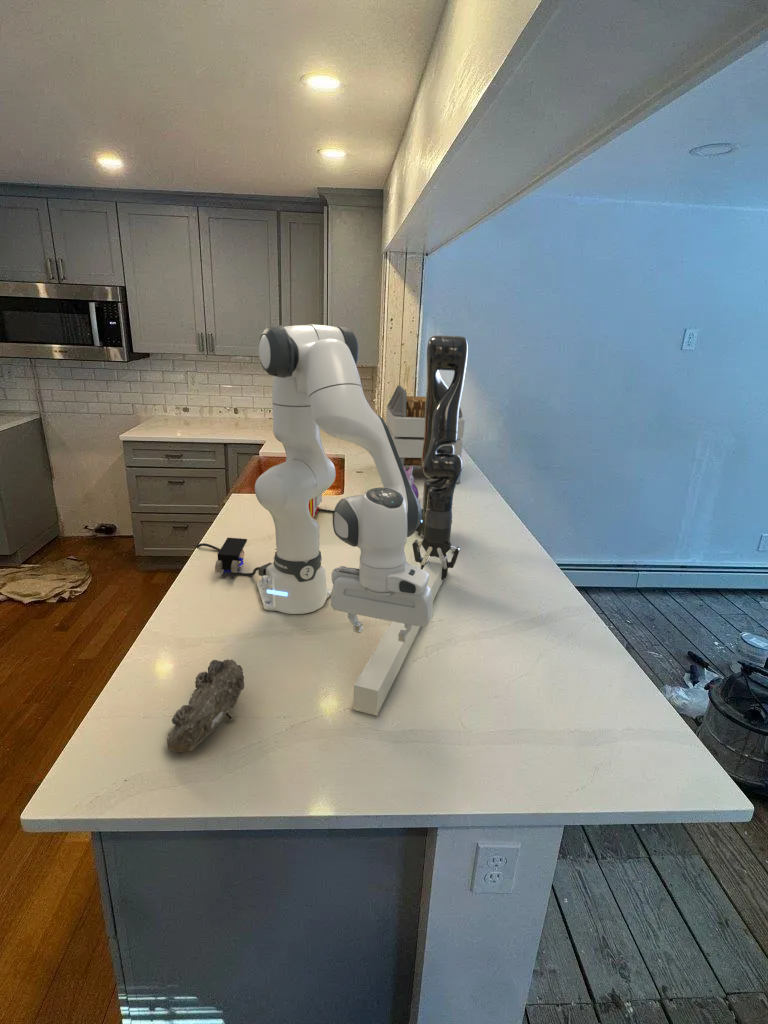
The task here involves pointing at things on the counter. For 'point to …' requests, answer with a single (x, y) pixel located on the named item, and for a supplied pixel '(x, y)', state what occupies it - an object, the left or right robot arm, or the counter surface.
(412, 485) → the figurine
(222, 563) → the black wheeled block
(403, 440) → the grey wooden crate
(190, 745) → the fossil
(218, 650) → the counter surface
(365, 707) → the beam
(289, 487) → the left robot arm
